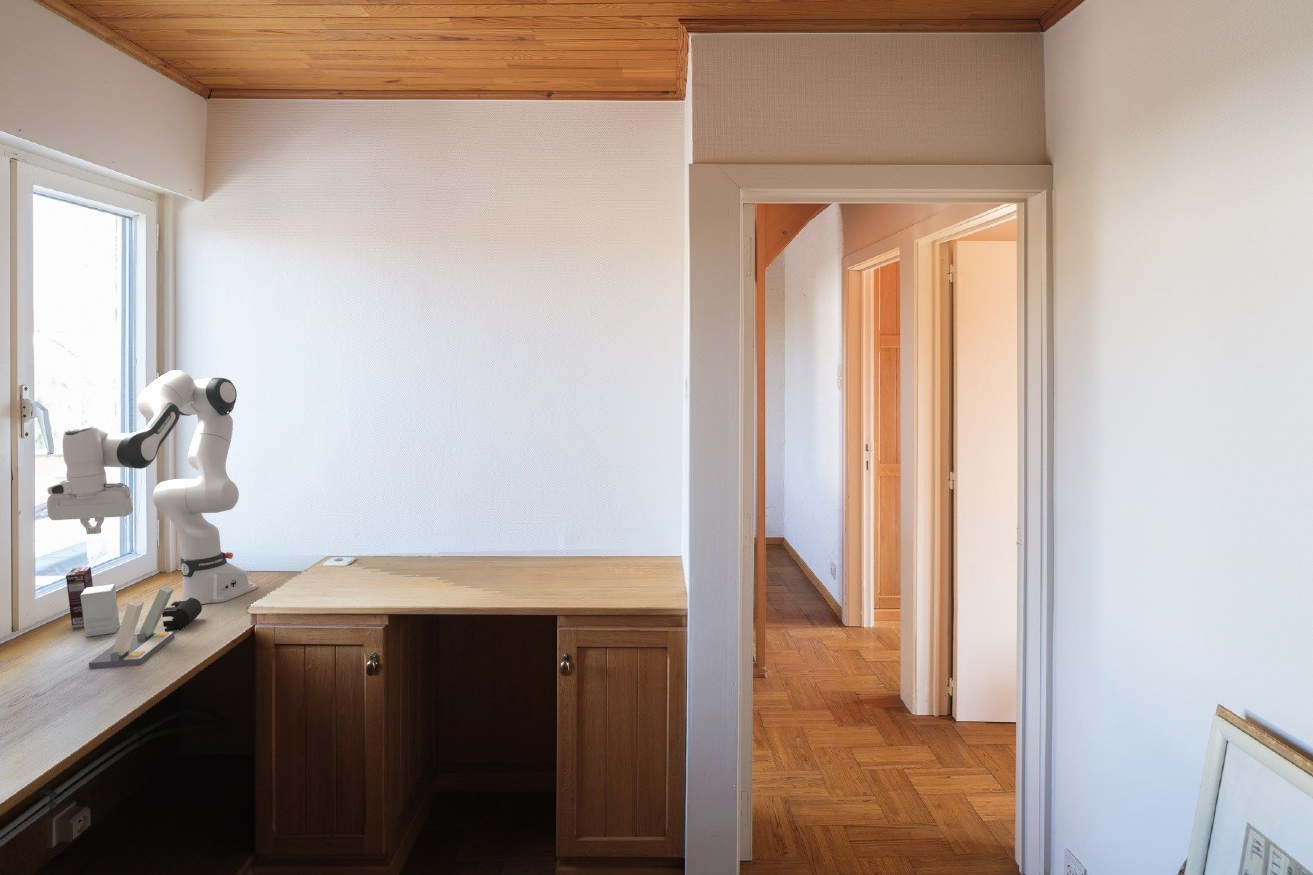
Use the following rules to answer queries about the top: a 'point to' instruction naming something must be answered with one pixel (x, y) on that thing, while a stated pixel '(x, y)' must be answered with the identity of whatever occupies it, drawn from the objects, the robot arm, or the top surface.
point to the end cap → (181, 614)
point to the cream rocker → (128, 627)
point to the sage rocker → (156, 610)
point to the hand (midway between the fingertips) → (94, 533)
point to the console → (133, 651)
